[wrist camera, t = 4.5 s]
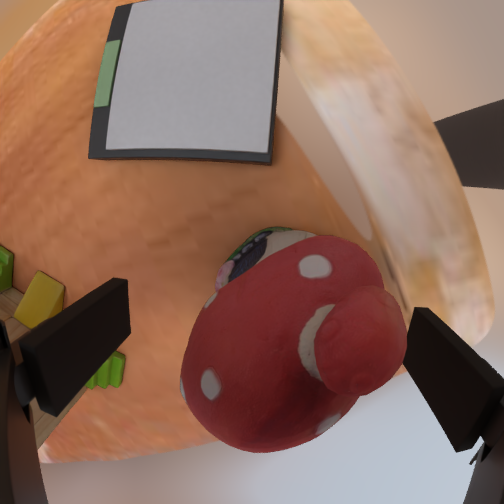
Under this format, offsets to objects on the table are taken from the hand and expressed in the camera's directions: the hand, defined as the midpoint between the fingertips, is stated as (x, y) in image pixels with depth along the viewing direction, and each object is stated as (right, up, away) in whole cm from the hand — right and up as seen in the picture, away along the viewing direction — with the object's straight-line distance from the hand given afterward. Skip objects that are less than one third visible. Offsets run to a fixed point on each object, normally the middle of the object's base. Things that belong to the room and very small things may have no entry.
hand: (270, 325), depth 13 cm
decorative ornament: (+1, +2, +8) cm, 8 cm away
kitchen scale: (-5, +15, +5) cm, 17 cm away
